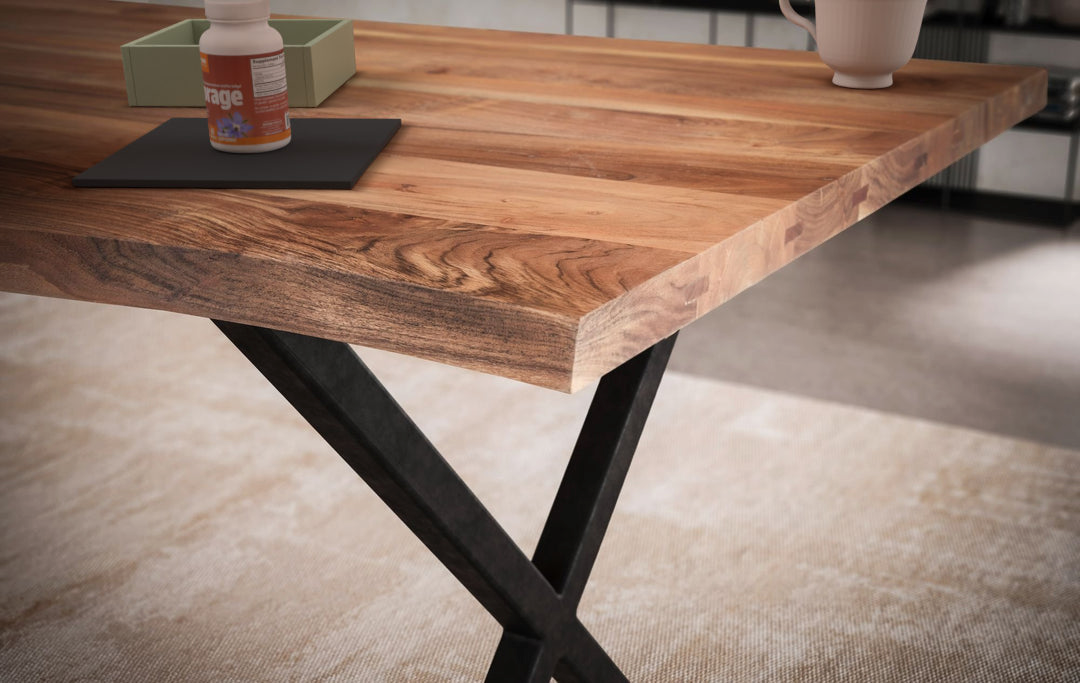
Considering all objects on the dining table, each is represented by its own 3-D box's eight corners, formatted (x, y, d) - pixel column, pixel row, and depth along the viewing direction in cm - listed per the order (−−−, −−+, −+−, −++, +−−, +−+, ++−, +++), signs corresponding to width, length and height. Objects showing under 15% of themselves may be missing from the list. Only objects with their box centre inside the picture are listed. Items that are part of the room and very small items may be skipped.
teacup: (792, 66, 123) (799, -32, 119) (937, 78, 117) (950, -27, 113) (755, 86, 114) (761, -21, 110) (910, 100, 107) (923, -14, 103)
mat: (72, 186, 82) (71, 178, 82) (173, 124, 101) (172, 117, 101) (351, 189, 81) (350, 181, 81) (401, 125, 100) (401, 118, 99)
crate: (128, 106, 108) (119, 46, 106) (193, 72, 124) (186, 19, 122) (316, 107, 107) (310, 46, 105) (356, 72, 123) (352, 18, 121)
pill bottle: (194, 147, 90) (175, -1, 86) (258, 132, 95) (243, -9, 90) (244, 159, 87) (226, 5, 82) (308, 143, 91) (295, -3, 87)
